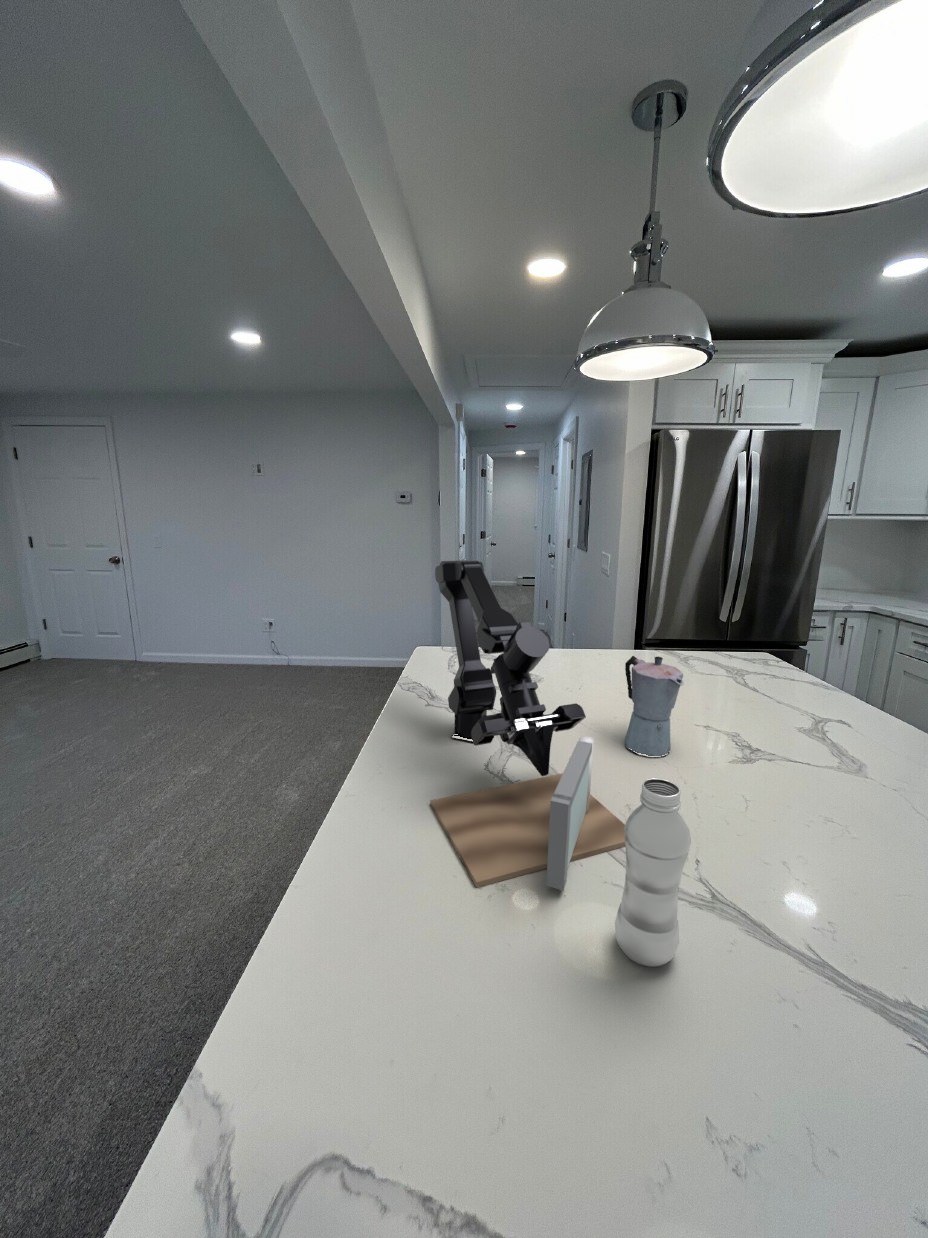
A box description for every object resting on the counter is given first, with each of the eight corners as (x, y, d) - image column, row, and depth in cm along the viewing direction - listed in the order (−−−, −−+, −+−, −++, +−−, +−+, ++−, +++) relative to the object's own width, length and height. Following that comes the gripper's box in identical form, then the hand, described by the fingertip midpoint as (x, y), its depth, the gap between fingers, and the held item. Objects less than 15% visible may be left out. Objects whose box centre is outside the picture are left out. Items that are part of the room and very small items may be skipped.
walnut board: (430, 804, 83) (430, 800, 83) (565, 776, 92) (565, 772, 92) (476, 888, 65) (476, 882, 65) (639, 842, 74) (639, 837, 74)
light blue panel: (576, 803, 82) (580, 735, 79) (589, 806, 81) (594, 737, 78) (546, 885, 64) (550, 800, 61) (563, 890, 63) (568, 804, 60)
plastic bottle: (604, 928, 59) (617, 772, 54) (660, 925, 59) (676, 770, 55) (626, 979, 52) (642, 806, 48) (688, 974, 53) (710, 803, 49)
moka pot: (658, 769, 95) (667, 668, 91) (601, 737, 108) (607, 648, 104) (692, 759, 99) (703, 662, 95) (633, 729, 113) (640, 643, 108)
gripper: (544, 697, 96) (573, 779, 88) (453, 710, 89) (475, 799, 82) (570, 671, 87) (604, 759, 79) (470, 683, 80) (497, 780, 73)
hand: (545, 775), depth 79 cm, fingers closed
